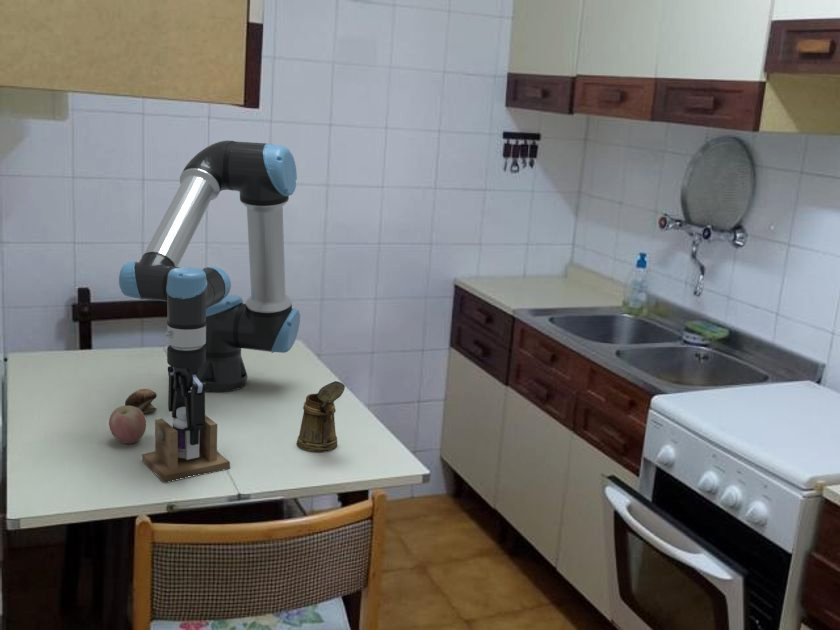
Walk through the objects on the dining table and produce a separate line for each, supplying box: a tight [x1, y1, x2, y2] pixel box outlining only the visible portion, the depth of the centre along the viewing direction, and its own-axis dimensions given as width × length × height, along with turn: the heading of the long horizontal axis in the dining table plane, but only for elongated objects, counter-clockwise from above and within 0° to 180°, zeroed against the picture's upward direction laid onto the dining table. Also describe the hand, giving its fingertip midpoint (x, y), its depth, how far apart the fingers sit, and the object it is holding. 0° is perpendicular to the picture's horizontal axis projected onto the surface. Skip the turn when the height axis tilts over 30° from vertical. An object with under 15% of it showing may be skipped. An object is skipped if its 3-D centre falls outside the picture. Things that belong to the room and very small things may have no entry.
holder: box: [141, 414, 231, 483], centre depth 183 cm, size 12×14×10 cm
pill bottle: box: [172, 407, 200, 458], centre depth 183 cm, size 5×5×10 cm
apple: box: [108, 405, 147, 445], centre depth 193 cm, size 8×8×8 cm
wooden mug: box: [296, 380, 346, 453], centre depth 195 cm, size 9×14×18 cm, turn 27°
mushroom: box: [124, 388, 157, 414], centre depth 211 cm, size 8×8×6 cm
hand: (186, 452), depth 184 cm, fingers closed on pill bottle, 5 cm apart
